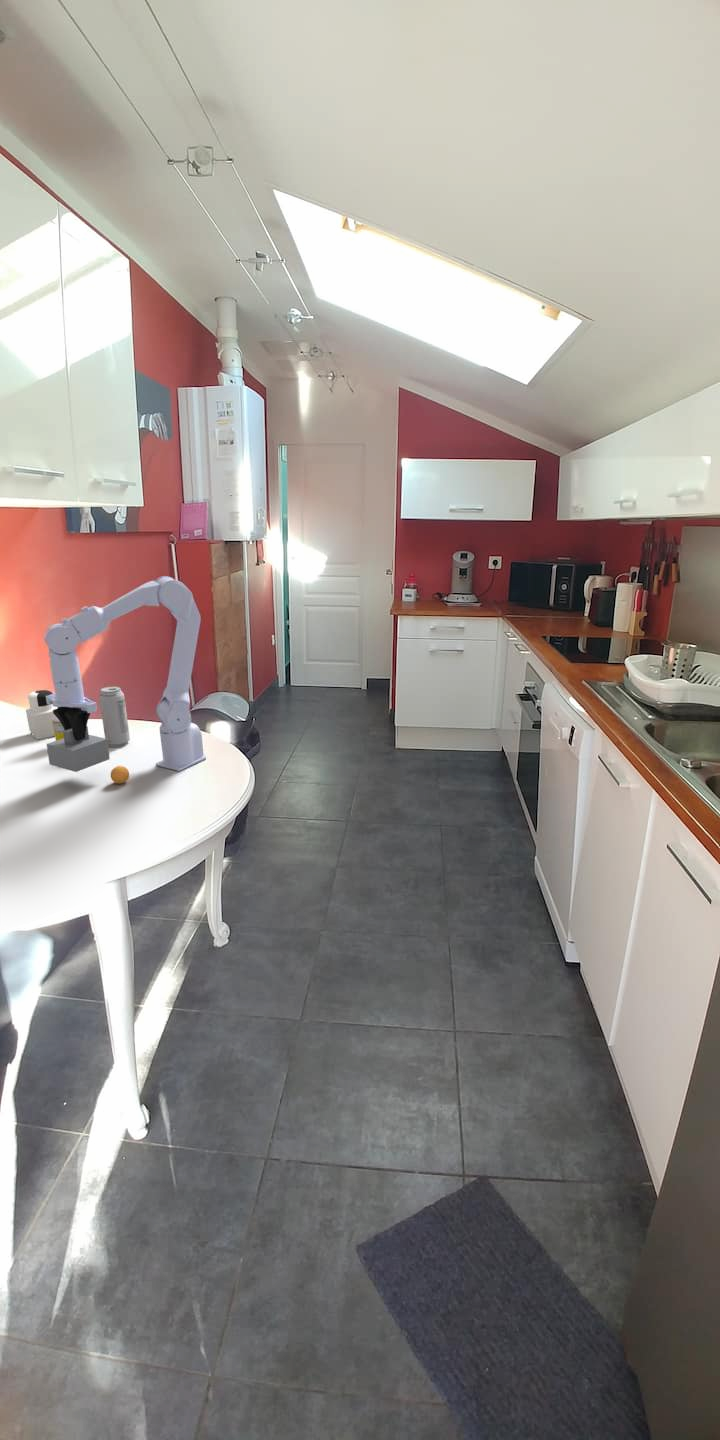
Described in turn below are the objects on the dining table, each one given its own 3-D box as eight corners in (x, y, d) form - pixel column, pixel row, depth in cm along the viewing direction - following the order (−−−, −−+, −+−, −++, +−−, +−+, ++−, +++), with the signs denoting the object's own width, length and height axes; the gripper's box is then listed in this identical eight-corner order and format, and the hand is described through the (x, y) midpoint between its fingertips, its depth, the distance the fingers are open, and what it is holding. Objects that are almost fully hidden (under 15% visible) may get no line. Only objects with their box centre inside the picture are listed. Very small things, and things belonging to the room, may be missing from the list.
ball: (122, 778, 155) (119, 762, 154) (134, 781, 153) (131, 765, 152) (107, 784, 152) (105, 767, 151) (120, 787, 150) (117, 771, 149)
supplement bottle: (68, 740, 180) (62, 703, 177) (84, 743, 178) (78, 706, 174) (51, 747, 175) (45, 709, 172) (67, 750, 173) (61, 712, 170)
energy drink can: (111, 740, 180) (103, 685, 175) (133, 739, 180) (126, 685, 175) (102, 748, 174) (94, 692, 169) (125, 747, 174) (118, 692, 169)
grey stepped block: (83, 752, 158) (79, 720, 156) (109, 759, 154) (105, 726, 152) (49, 764, 151) (44, 731, 148) (76, 771, 146) (71, 737, 144)
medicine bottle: (56, 727, 190) (49, 686, 186) (64, 734, 185) (57, 692, 181) (29, 733, 186) (22, 691, 182) (37, 740, 181) (29, 697, 177)
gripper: (29, 680, 147) (40, 738, 151) (73, 688, 140) (83, 749, 144) (57, 672, 152) (67, 729, 157) (101, 680, 145) (110, 739, 150)
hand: (77, 738), depth 151 cm, fingers closed on grey stepped block
